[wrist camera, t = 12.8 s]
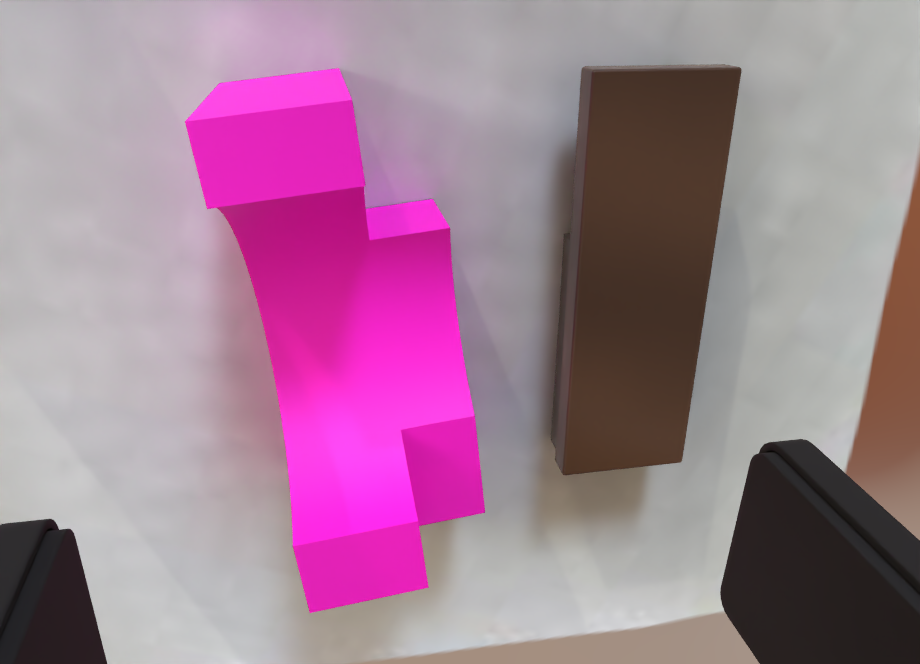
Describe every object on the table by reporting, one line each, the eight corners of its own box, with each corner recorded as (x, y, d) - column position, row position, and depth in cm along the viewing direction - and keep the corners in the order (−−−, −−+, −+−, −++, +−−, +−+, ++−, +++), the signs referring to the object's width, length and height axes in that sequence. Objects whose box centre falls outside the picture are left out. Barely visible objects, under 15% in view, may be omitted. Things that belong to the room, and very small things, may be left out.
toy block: (461, 443, 31) (505, 571, 24) (308, 472, 30) (309, 613, 23) (416, 58, 24) (458, 85, 18) (219, 82, 23) (185, 121, 17)
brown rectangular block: (566, 61, 25) (592, 69, 23) (703, 60, 26) (743, 67, 24) (543, 440, 31) (562, 476, 29) (655, 428, 32) (682, 463, 30)
